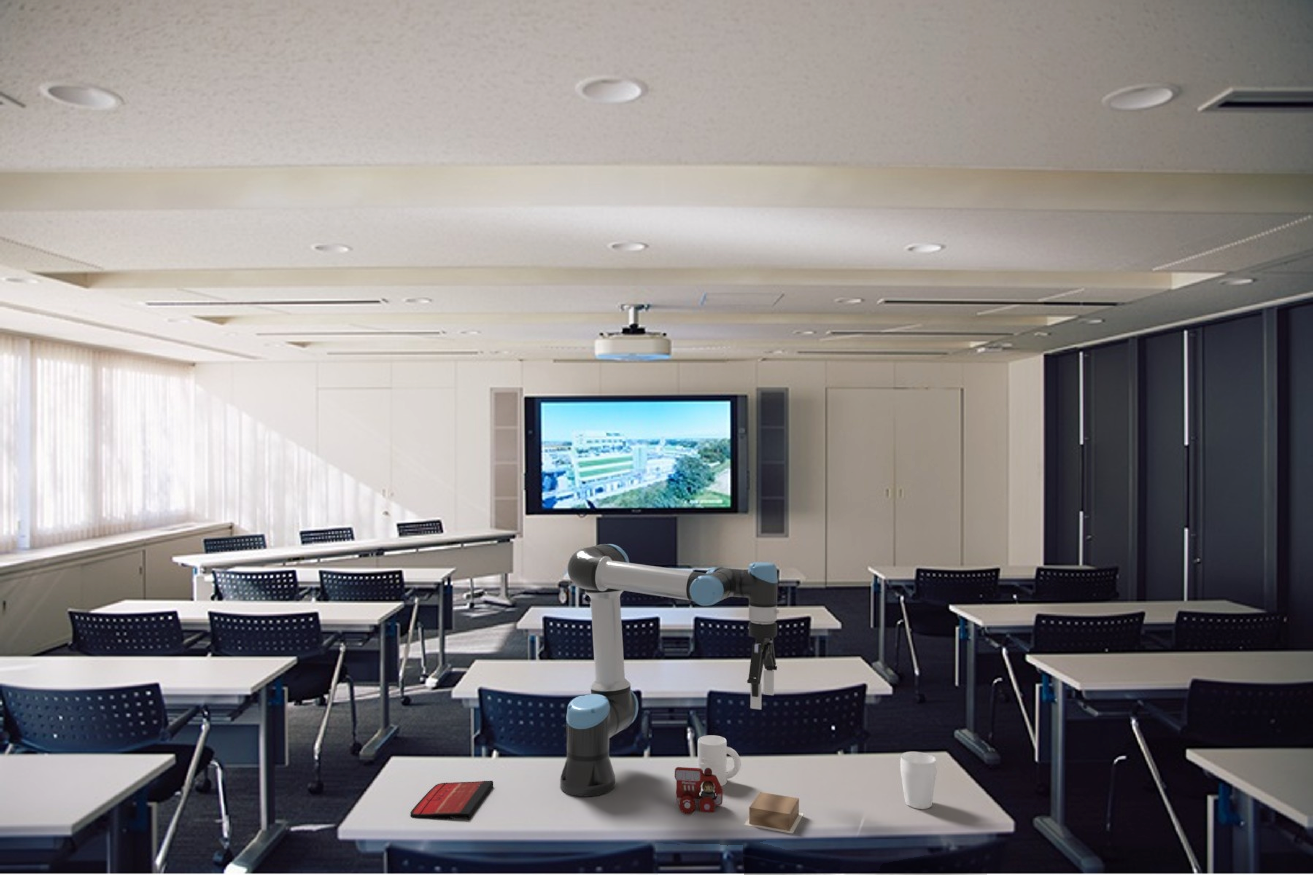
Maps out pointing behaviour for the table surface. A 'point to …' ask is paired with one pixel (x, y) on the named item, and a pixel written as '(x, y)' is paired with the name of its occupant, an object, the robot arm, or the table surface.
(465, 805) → the binder
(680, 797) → the toy fire truck
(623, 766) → the table surface
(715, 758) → the mug
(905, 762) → the cup
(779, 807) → the base block
